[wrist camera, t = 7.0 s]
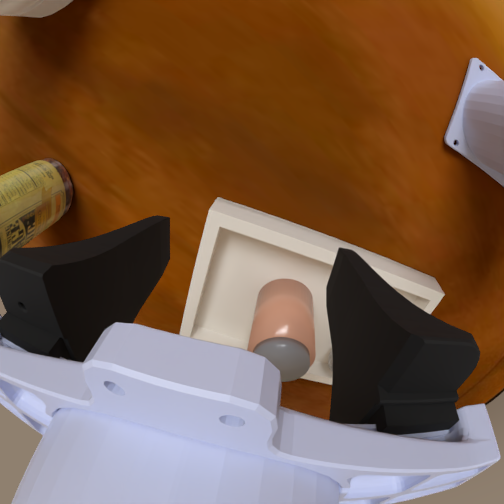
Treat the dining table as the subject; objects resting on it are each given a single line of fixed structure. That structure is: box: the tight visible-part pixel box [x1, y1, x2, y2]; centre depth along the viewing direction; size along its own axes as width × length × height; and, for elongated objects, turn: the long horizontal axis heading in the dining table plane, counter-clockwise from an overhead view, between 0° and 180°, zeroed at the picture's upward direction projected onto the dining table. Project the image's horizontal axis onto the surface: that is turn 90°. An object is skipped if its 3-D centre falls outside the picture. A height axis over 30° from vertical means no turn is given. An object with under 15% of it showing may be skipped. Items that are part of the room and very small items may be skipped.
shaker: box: [247, 279, 316, 382], centre depth 22 cm, size 5×5×7 cm
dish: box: [180, 197, 445, 385], centre depth 24 cm, size 20×14×2 cm
